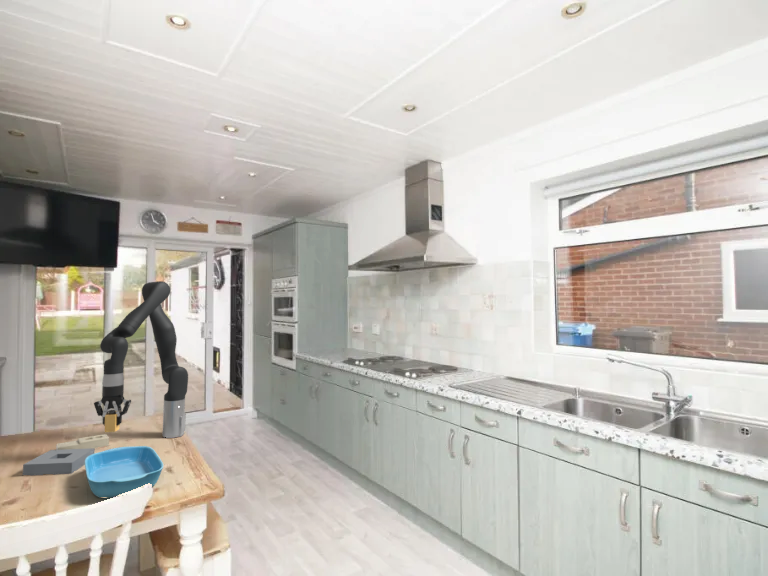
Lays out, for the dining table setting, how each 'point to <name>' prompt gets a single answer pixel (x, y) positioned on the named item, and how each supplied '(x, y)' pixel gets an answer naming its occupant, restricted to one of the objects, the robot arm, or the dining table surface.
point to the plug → (111, 422)
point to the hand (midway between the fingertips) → (112, 425)
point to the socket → (57, 462)
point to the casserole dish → (122, 470)
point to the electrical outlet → (85, 443)
